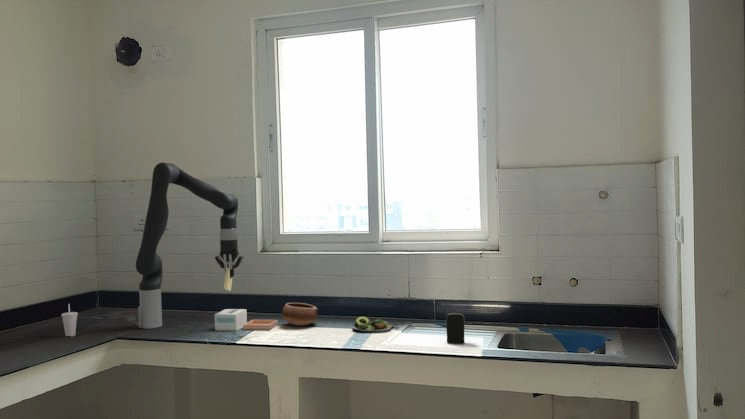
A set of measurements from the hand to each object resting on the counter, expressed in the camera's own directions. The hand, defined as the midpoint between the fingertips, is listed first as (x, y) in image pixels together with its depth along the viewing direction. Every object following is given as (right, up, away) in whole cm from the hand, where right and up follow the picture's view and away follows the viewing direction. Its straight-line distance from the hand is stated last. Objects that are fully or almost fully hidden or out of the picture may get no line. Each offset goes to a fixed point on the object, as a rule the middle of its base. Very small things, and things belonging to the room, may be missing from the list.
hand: (229, 277), depth 269 cm
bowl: (+31, -22, +2) cm, 38 cm away
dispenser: (+1, -22, +1) cm, 22 cm away
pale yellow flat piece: (0, -5, -3) cm, 6 cm away
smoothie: (-67, -24, -8) cm, 72 cm away
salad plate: (+63, -22, -8) cm, 67 cm away
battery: (+96, -21, -36) cm, 104 cm away
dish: (+14, -22, -1) cm, 26 cm away
